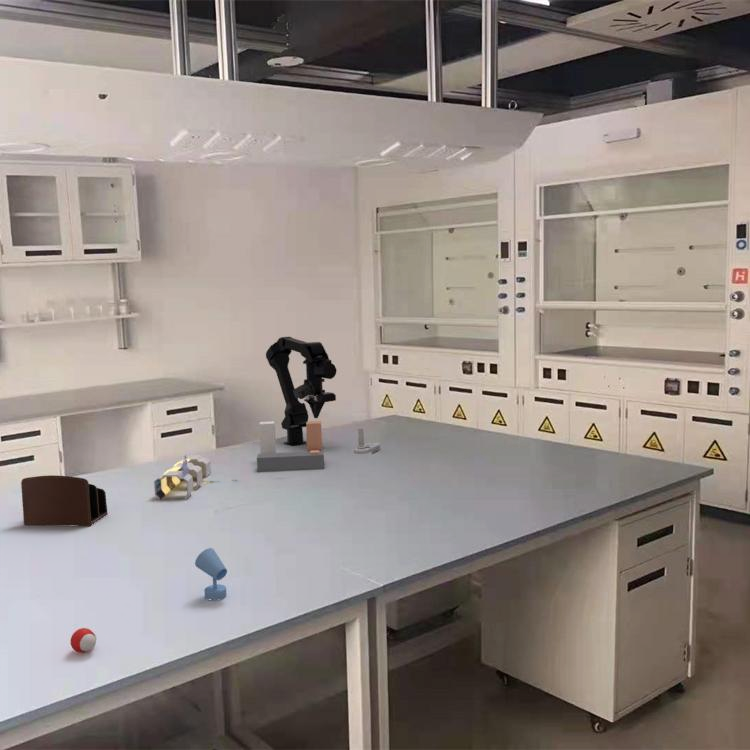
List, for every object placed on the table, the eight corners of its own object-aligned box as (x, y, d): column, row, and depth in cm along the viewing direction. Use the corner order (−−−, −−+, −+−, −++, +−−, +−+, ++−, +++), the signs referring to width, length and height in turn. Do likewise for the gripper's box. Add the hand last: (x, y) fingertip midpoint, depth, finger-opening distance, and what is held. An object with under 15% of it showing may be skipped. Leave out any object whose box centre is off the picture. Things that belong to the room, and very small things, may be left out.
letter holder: (90, 527, 216) (86, 476, 214) (23, 526, 219) (18, 476, 217) (108, 515, 225) (104, 467, 224) (43, 514, 228) (39, 466, 226)
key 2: (308, 461, 274) (306, 421, 272) (322, 460, 274) (321, 421, 273) (307, 464, 270) (306, 424, 268) (322, 463, 271) (321, 423, 269)
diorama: (188, 500, 238) (186, 457, 236) (155, 500, 239) (152, 458, 237) (211, 478, 263) (208, 439, 261) (180, 478, 264) (178, 439, 262)
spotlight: (194, 595, 168) (215, 603, 163) (191, 550, 166) (212, 557, 162) (213, 587, 172) (234, 595, 167) (210, 543, 170) (231, 550, 166)
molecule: (66, 652, 145) (64, 630, 144) (90, 642, 148) (88, 620, 148) (82, 660, 141) (80, 637, 141) (106, 649, 145) (104, 627, 145)
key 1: (262, 461, 276) (260, 421, 274) (276, 460, 277) (274, 421, 275) (261, 464, 272) (259, 424, 270) (275, 463, 273) (273, 423, 271)
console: (261, 463, 278) (260, 445, 277) (324, 460, 280) (323, 442, 279) (257, 475, 263) (256, 456, 262) (324, 472, 264) (323, 453, 263)
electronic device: (381, 423, 295) (364, 430, 281) (382, 449, 296) (365, 458, 282) (368, 423, 297) (350, 430, 283) (369, 449, 298) (351, 457, 284)
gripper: (282, 376, 296) (284, 418, 298) (310, 381, 281) (312, 424, 283) (306, 373, 302) (308, 413, 305) (336, 377, 288) (337, 420, 290)
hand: (316, 418), depth 295 cm, fingers closed
